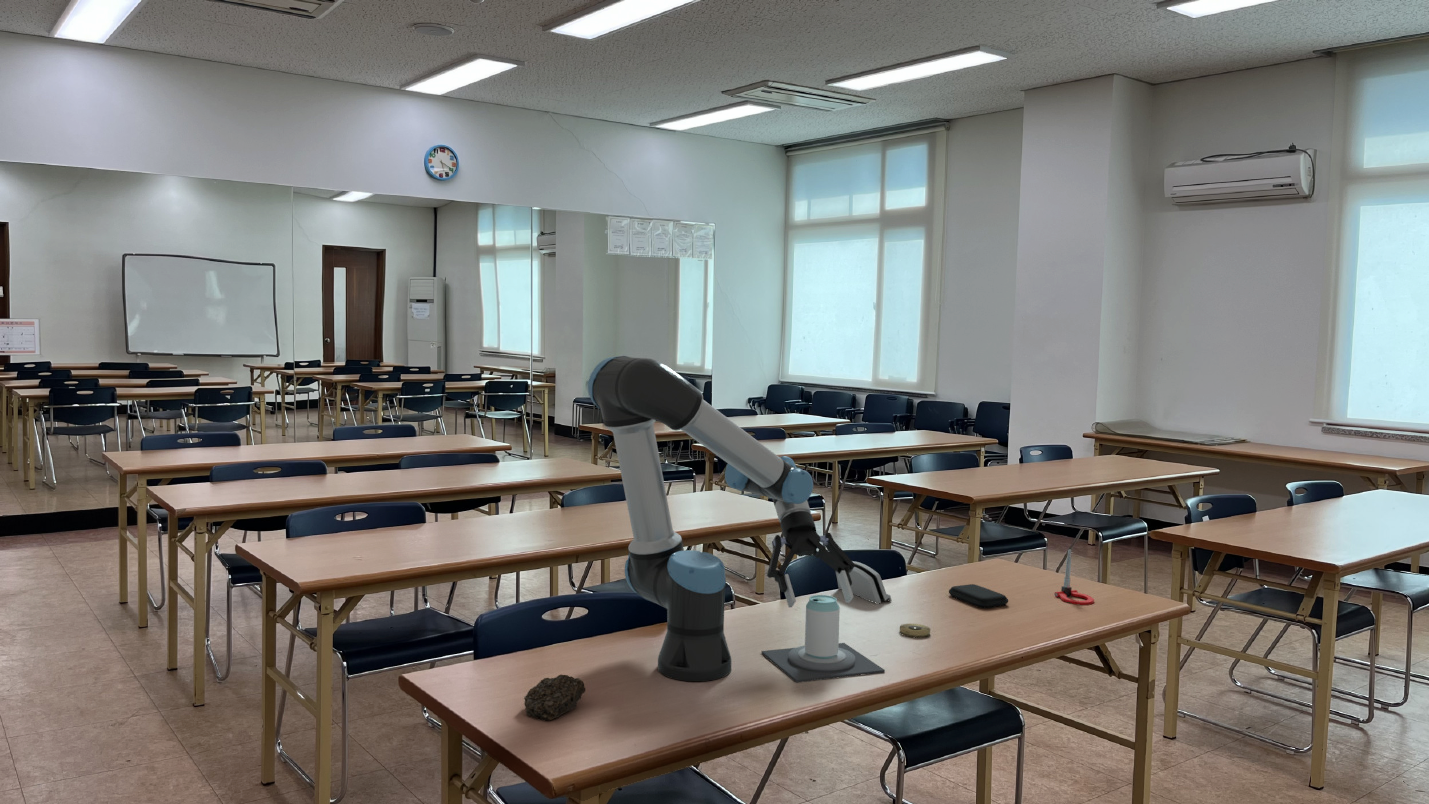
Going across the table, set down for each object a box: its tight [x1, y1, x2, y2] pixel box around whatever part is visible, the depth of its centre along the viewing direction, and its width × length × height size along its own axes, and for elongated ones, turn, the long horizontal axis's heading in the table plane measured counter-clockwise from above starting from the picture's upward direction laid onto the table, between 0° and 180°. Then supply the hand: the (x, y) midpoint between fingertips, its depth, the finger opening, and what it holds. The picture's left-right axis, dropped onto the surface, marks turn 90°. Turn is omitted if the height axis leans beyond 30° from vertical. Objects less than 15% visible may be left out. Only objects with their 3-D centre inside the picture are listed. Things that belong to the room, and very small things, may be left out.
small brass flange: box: [899, 623, 931, 639], centre depth 230 cm, size 7×7×1 cm
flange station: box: [760, 642, 886, 683], centre depth 208 cm, size 20×18×2 cm
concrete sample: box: [523, 674, 586, 721], centre depth 181 cm, size 12×10×5 cm
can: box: [804, 594, 841, 659], centre depth 208 cm, size 7×7×12 cm
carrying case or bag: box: [948, 583, 1009, 609], centre depth 259 cm, size 11×3×15 cm
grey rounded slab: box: [835, 560, 893, 605], centre depth 261 cm, size 17×5×10 cm, turn 30°
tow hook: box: [1054, 549, 1095, 606], centre depth 261 cm, size 8×13×9 cm
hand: (821, 602), depth 211 cm, fingers open, 13 cm apart
